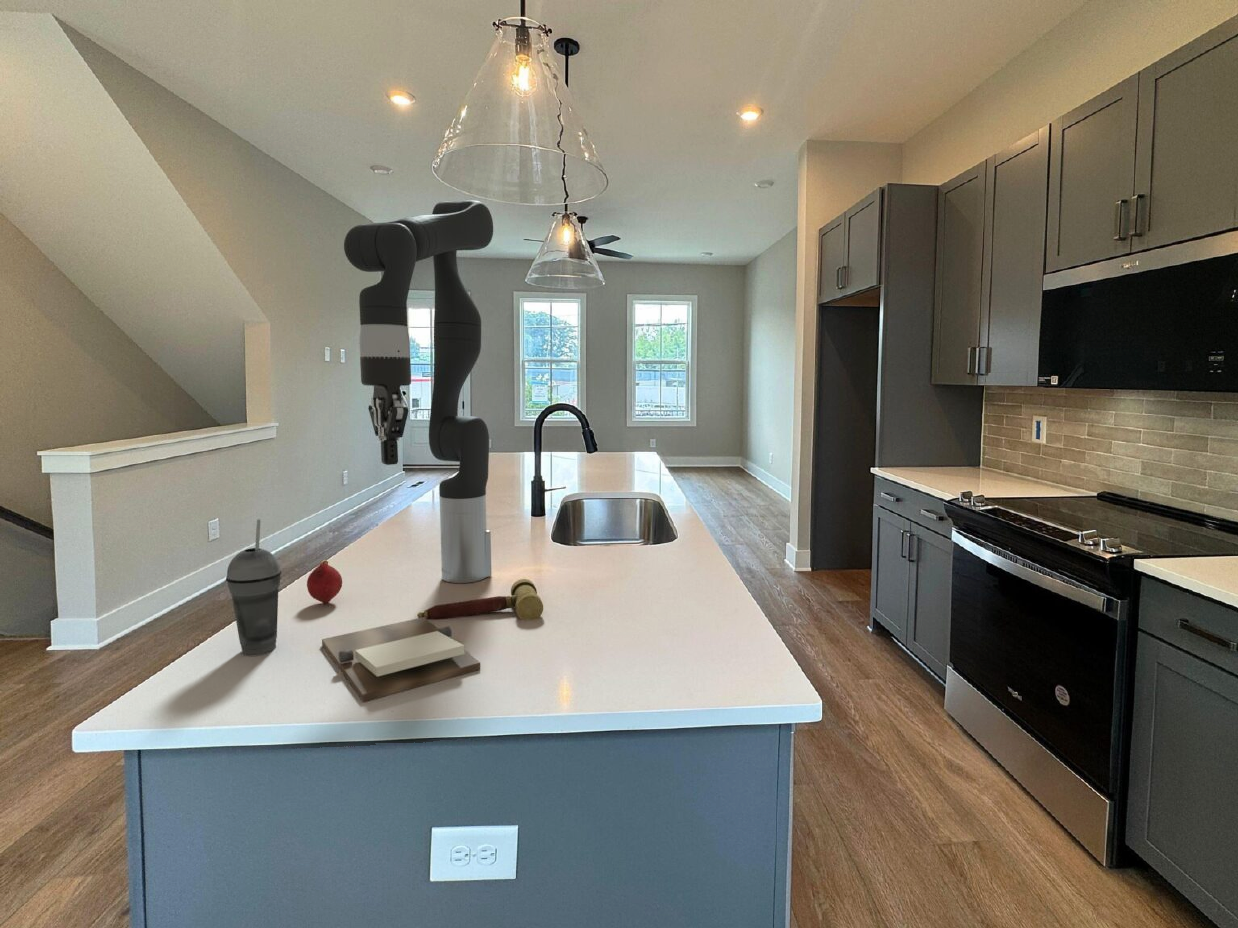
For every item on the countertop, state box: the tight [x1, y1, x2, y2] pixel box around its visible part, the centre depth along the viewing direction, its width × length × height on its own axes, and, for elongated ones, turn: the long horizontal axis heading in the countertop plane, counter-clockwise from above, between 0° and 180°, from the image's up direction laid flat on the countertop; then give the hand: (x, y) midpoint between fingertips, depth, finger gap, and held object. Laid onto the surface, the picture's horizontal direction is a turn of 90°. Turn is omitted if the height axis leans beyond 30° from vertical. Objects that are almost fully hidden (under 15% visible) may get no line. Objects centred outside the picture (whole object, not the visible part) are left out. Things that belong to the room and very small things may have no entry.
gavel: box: [416, 578, 544, 621], centre depth 114 cm, size 21×5×10 cm
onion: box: [306, 559, 343, 604], centre depth 118 cm, size 6×6×8 cm
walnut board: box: [321, 617, 481, 703], centre depth 96 cm, size 16×22×3 cm
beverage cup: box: [225, 518, 282, 657], centre depth 97 cm, size 7×7×20 cm
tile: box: [355, 631, 465, 677], centre depth 92 cm, size 12×10×1 cm
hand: (389, 463), depth 105 cm, fingers closed
